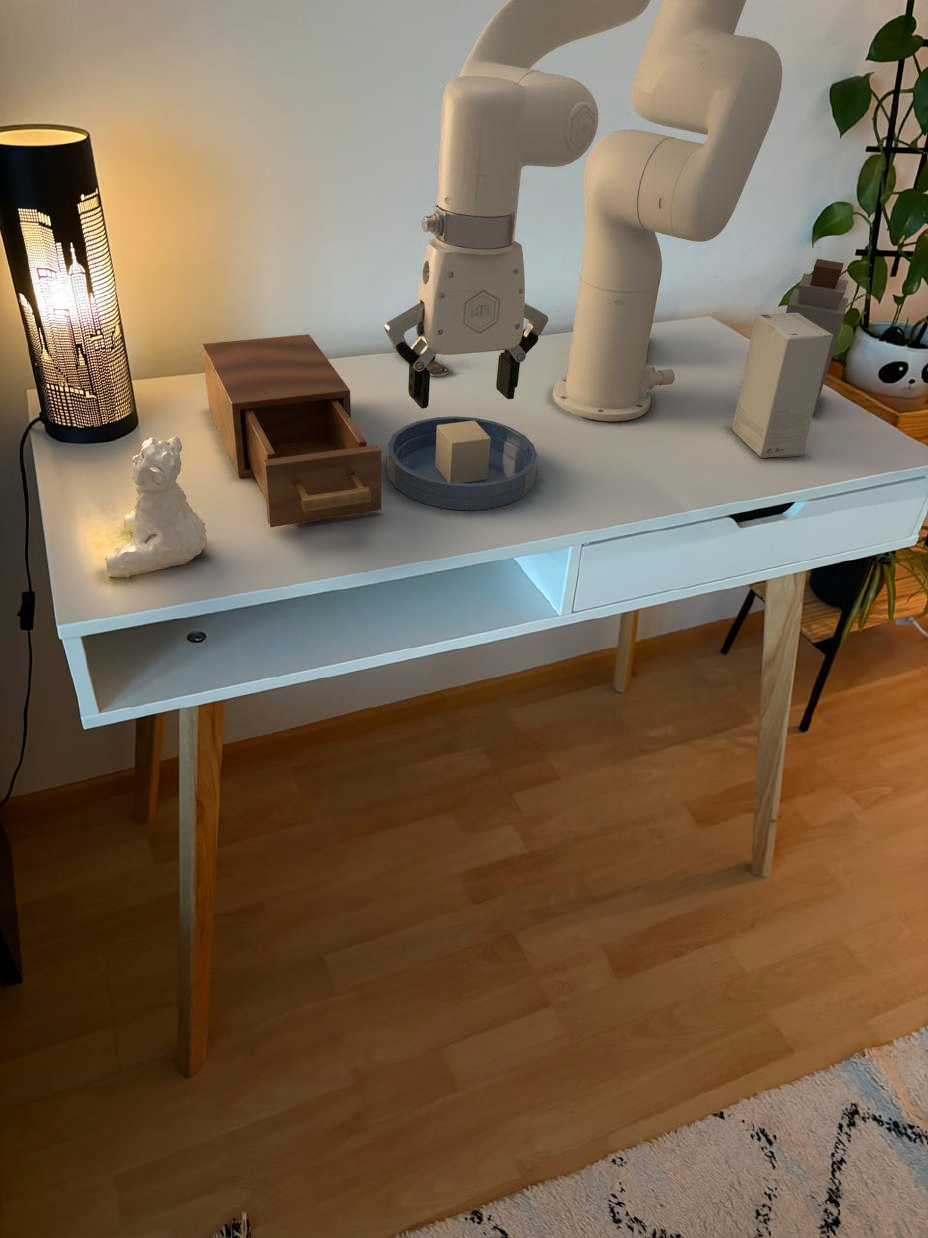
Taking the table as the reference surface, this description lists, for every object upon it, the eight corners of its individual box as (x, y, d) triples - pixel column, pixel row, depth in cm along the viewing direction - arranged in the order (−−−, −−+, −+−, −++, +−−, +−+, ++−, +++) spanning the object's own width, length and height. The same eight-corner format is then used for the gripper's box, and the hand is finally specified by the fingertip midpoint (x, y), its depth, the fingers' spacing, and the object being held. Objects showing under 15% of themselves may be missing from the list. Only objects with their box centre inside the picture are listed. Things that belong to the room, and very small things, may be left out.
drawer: (395, 531, 94) (396, 470, 90) (281, 550, 90) (276, 487, 86) (337, 442, 108) (336, 386, 104) (237, 455, 104) (231, 397, 100)
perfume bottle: (760, 406, 125) (797, 266, 114) (768, 387, 130) (804, 252, 119) (813, 417, 123) (856, 276, 113) (818, 397, 129) (859, 261, 118)
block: (471, 460, 108) (474, 419, 105) (487, 479, 105) (491, 437, 102) (434, 465, 106) (436, 424, 103) (449, 485, 103) (452, 443, 100)
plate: (497, 433, 114) (499, 409, 112) (559, 500, 103) (562, 473, 101) (368, 451, 109) (368, 425, 107) (417, 523, 97) (418, 496, 95)
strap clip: (398, 356, 132) (398, 325, 129) (417, 352, 133) (417, 322, 131) (432, 378, 126) (433, 347, 124) (451, 373, 128) (452, 343, 125)
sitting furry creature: (130, 524, 94) (110, 411, 87) (218, 528, 94) (206, 416, 87) (102, 579, 86) (78, 461, 79) (199, 583, 87) (183, 465, 79)
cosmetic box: (802, 457, 114) (839, 336, 105) (757, 459, 113) (790, 337, 104) (770, 425, 121) (801, 309, 112) (726, 428, 119) (755, 310, 110)
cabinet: (351, 462, 107) (350, 389, 101) (238, 477, 102) (231, 403, 97) (311, 401, 119) (309, 333, 113) (209, 412, 114) (201, 343, 109)
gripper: (402, 242, 84) (396, 422, 94) (575, 235, 90) (552, 405, 100) (375, 219, 89) (373, 392, 100) (540, 214, 95) (521, 377, 106)
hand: (462, 398), depth 100 cm, fingers open, 9 cm apart
